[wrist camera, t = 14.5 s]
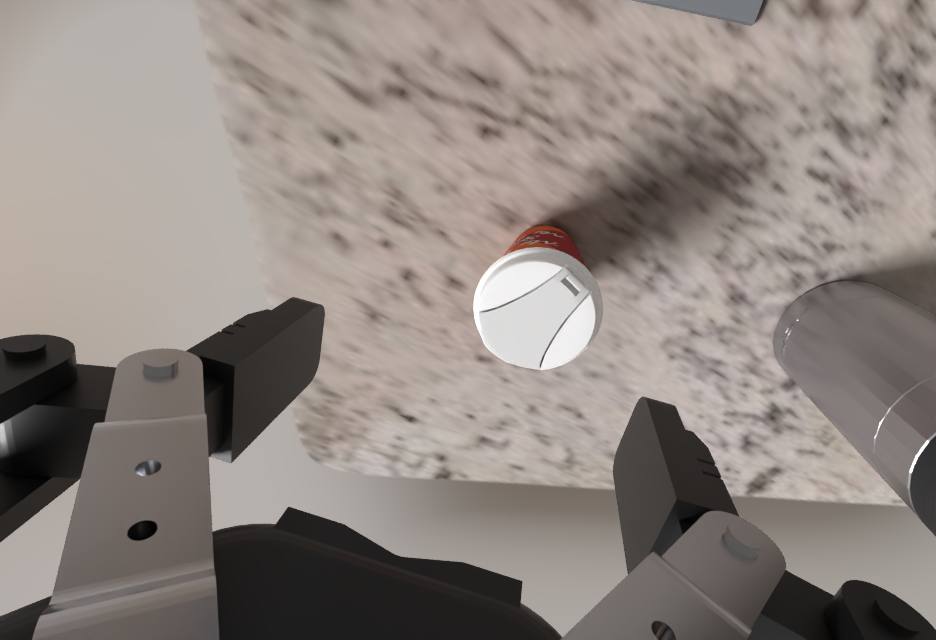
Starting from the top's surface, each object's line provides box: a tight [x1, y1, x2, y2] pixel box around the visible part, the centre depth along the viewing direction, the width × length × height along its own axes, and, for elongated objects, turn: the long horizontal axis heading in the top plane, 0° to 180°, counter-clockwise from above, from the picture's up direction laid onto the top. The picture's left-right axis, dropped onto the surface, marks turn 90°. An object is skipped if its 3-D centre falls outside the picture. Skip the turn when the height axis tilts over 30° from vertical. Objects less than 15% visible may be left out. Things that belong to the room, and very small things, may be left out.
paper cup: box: [473, 226, 603, 370], centre depth 35 cm, size 8×8×14 cm
